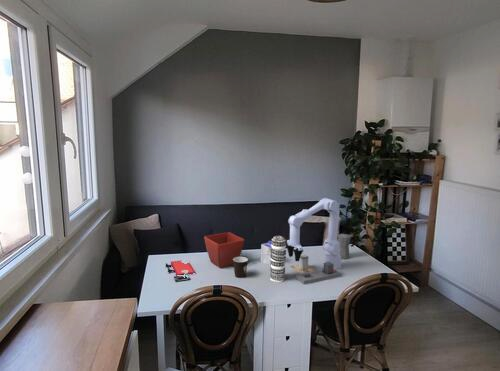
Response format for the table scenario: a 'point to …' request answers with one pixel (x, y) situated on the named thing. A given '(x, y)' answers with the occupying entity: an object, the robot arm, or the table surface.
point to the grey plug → (303, 262)
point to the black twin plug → (328, 268)
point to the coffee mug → (240, 266)
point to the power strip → (316, 276)
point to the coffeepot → (345, 244)
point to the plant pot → (223, 248)
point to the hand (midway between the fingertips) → (294, 258)
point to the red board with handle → (181, 270)
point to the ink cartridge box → (266, 253)
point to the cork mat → (303, 270)
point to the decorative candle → (277, 259)
